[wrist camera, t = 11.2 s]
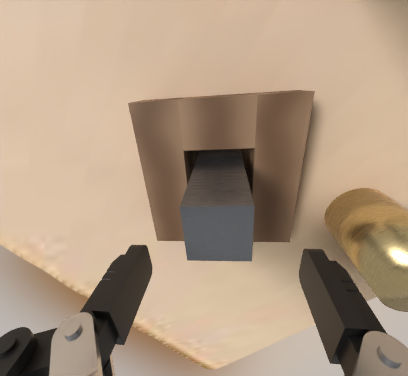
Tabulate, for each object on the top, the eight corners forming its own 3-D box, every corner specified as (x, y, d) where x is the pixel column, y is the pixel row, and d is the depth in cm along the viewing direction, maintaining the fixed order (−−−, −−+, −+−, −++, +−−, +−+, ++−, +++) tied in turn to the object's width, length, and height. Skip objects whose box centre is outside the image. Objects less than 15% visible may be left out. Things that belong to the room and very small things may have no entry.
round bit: (398, 187, 21) (506, 251, 13) (377, 237, 24) (455, 314, 16) (331, 188, 22) (395, 249, 14) (319, 236, 24) (366, 310, 16)
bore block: (298, 90, 18) (314, 91, 15) (281, 221, 24) (289, 242, 21) (143, 100, 19) (128, 103, 16) (165, 221, 25) (157, 240, 22)
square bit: (239, 147, 20) (254, 205, 11) (239, 183, 22) (251, 261, 12) (200, 149, 21) (179, 206, 11) (203, 184, 23) (187, 260, 13)
